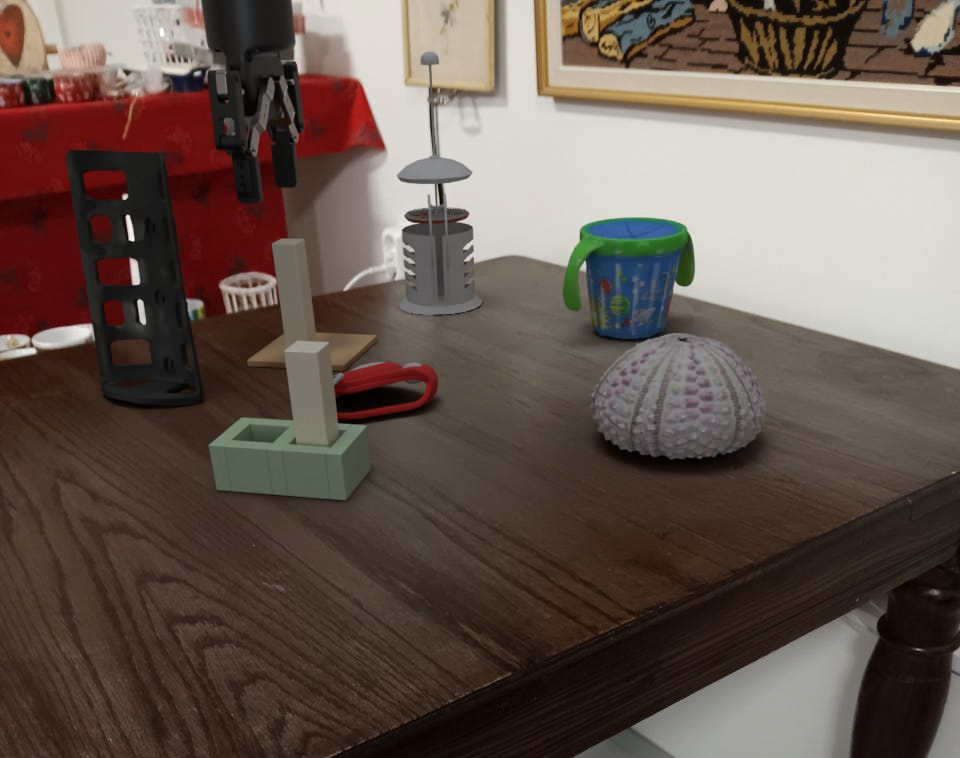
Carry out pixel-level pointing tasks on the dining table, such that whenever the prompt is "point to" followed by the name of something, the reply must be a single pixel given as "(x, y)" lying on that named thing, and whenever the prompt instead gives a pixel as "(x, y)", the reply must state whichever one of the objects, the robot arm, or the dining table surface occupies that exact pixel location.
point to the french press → (437, 237)
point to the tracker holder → (381, 376)
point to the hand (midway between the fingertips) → (269, 194)
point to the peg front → (312, 393)
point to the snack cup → (630, 273)
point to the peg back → (294, 290)
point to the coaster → (341, 345)
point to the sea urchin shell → (679, 399)
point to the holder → (156, 272)
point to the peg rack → (288, 460)
